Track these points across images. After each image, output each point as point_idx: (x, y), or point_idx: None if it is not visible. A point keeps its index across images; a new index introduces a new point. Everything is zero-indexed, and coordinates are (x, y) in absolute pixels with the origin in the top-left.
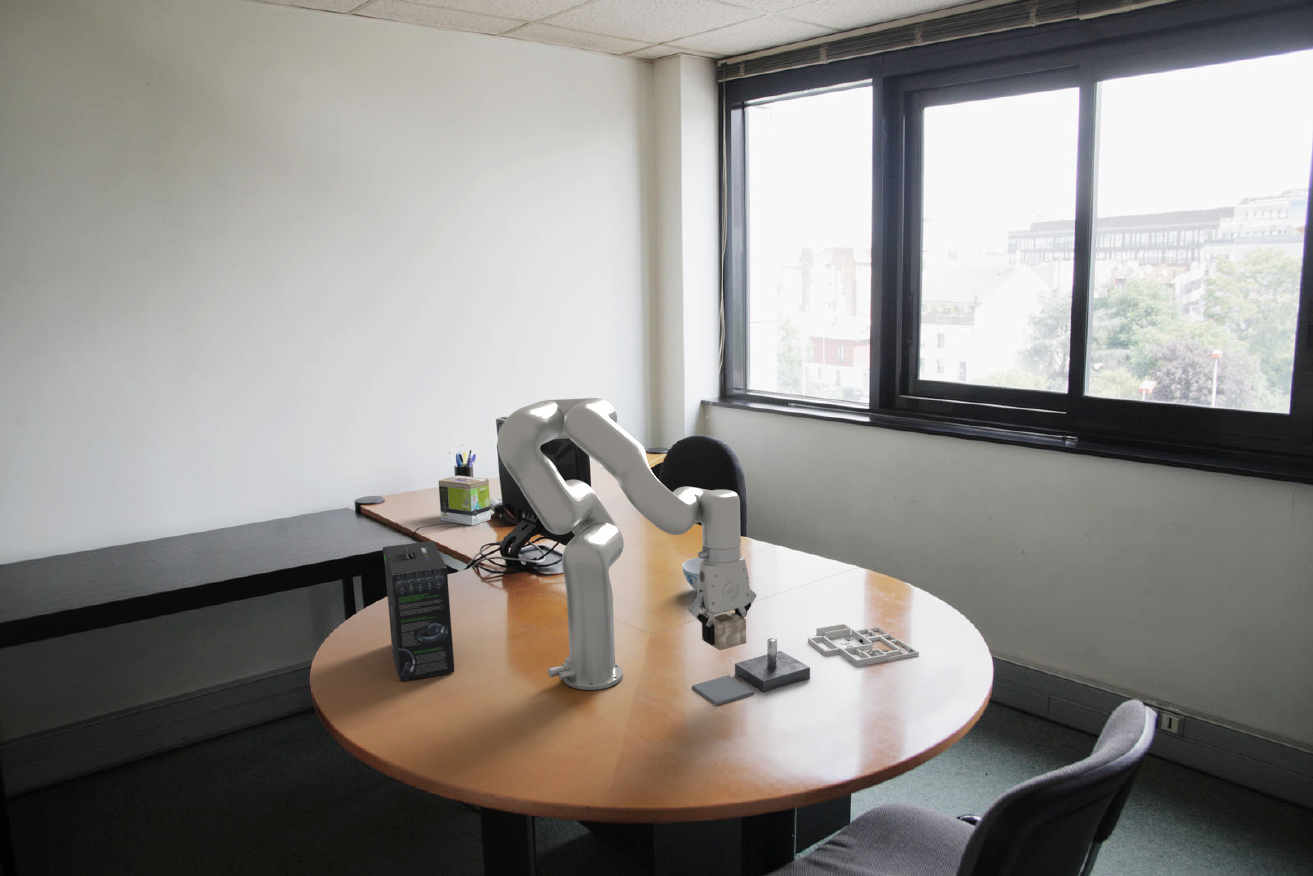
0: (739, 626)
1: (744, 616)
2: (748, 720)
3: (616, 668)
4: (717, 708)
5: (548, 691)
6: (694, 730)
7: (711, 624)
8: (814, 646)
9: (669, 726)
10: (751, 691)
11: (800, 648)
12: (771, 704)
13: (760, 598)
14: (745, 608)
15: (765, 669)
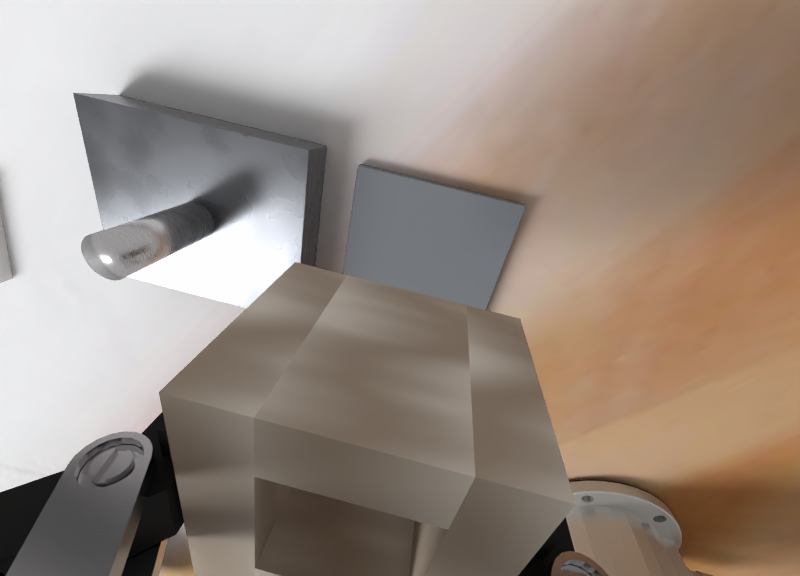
0: (290, 369)
1: (129, 443)
2: (552, 7)
3: None
4: (539, 187)
5: (717, 555)
6: (768, 123)
7: (556, 567)
8: (2, 244)
9: (778, 221)
10: (364, 172)
11: (49, 269)
12: (369, 46)
13: (31, 474)
14: (23, 528)
15: (237, 216)
